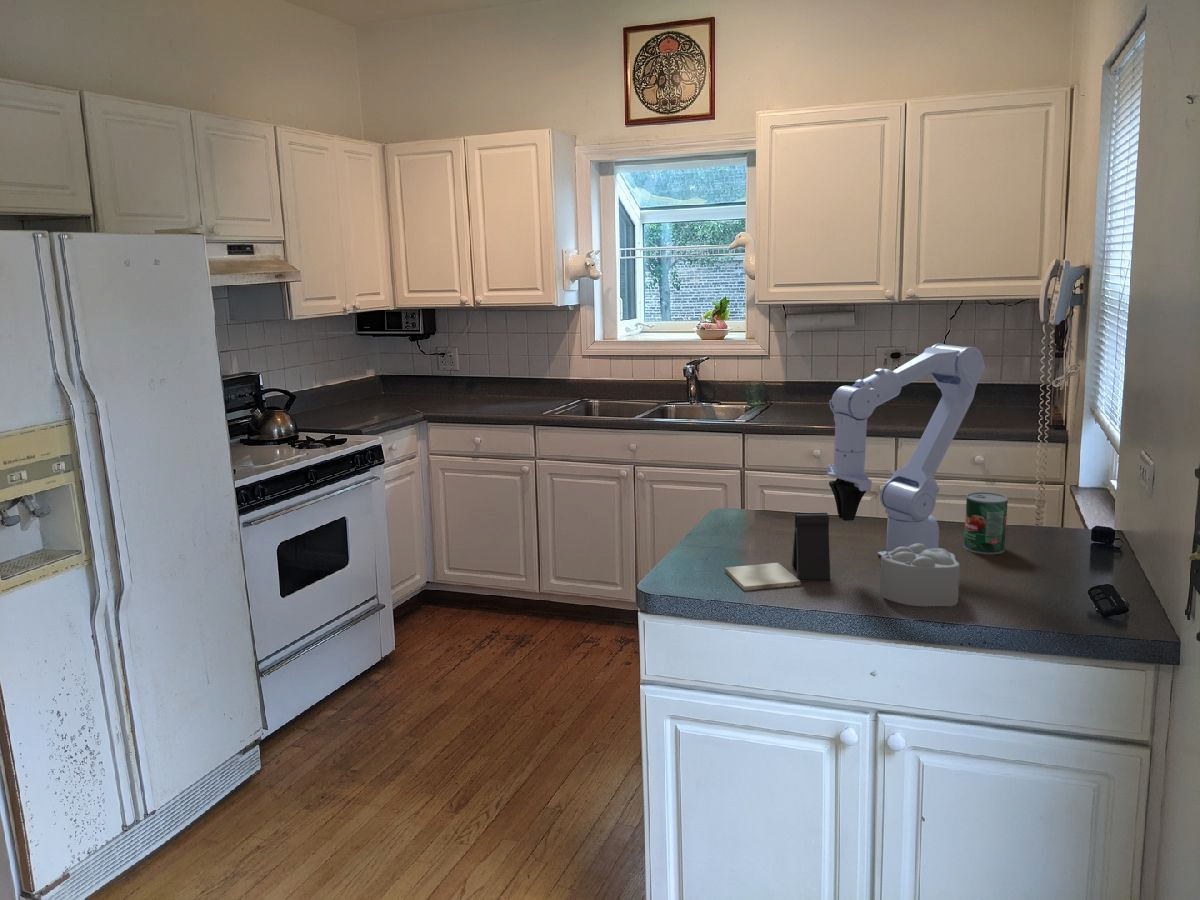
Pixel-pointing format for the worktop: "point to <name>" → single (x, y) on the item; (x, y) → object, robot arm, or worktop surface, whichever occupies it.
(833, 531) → the worktop surface
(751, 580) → the birch board
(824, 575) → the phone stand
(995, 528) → the canned tomato
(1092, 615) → the worktop surface
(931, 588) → the lumpy-topped squat cylinder
